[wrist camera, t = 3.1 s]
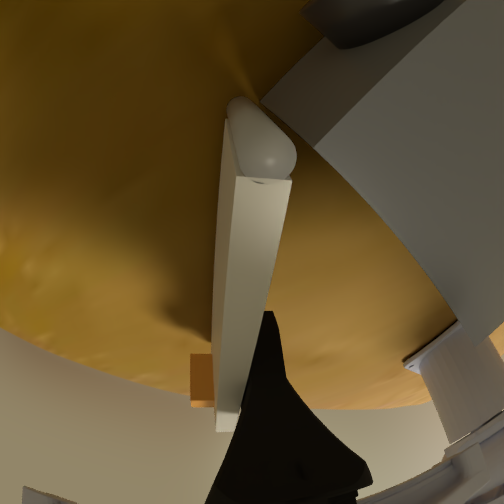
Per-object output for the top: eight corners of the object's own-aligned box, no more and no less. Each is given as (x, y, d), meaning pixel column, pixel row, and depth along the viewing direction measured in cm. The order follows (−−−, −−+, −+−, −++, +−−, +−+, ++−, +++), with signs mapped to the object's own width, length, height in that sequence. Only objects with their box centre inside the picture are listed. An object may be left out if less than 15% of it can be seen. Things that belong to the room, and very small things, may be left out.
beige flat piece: (226, 351, 14) (233, 431, 11) (192, 351, 14) (193, 432, 10) (256, 97, 7) (300, 134, 4) (191, 93, 7) (163, 124, 3)
